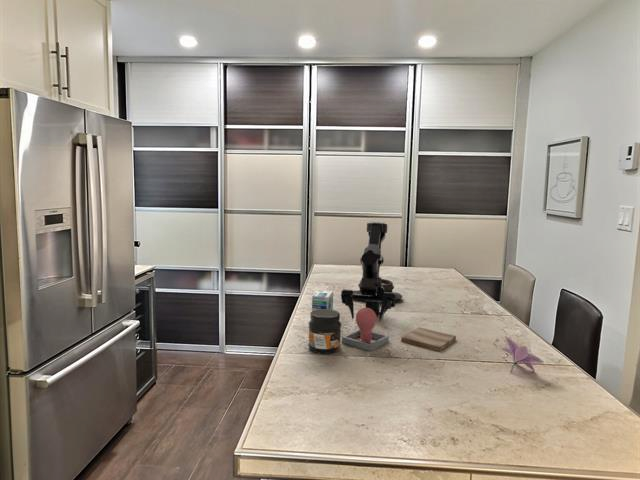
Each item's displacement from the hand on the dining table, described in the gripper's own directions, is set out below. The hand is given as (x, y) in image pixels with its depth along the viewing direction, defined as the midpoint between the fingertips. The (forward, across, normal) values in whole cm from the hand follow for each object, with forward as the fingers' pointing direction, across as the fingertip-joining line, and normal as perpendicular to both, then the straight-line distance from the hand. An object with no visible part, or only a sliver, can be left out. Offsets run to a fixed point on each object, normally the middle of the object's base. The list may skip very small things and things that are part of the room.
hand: (366, 319), depth 150 cm
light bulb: (+6, 0, +6) cm, 8 cm away
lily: (+14, +46, -3) cm, 49 cm away
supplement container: (+12, -13, -1) cm, 18 cm away
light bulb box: (-9, -19, +20) cm, 29 cm away
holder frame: (+6, 0, +6) cm, 8 cm away
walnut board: (+1, +22, +10) cm, 24 cm away
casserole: (-37, 0, +48) cm, 60 cm away
